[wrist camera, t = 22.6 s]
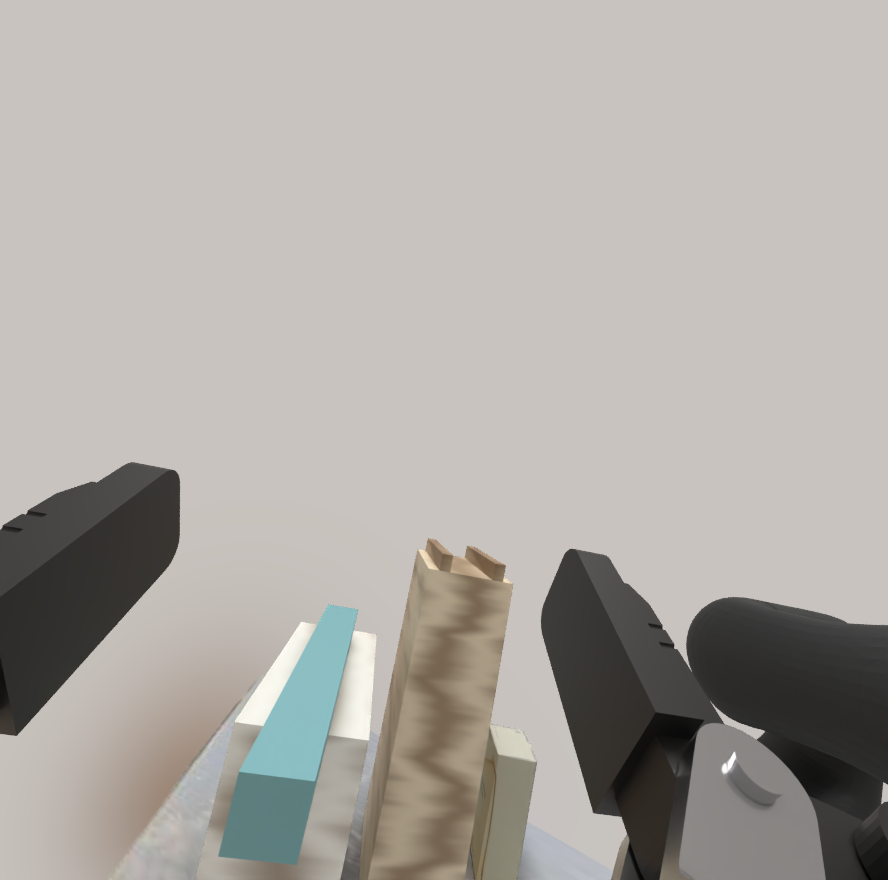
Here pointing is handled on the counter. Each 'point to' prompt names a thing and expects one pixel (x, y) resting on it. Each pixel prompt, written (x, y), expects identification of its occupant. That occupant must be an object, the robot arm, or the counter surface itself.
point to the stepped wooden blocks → (393, 735)
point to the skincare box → (502, 804)
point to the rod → (290, 751)
